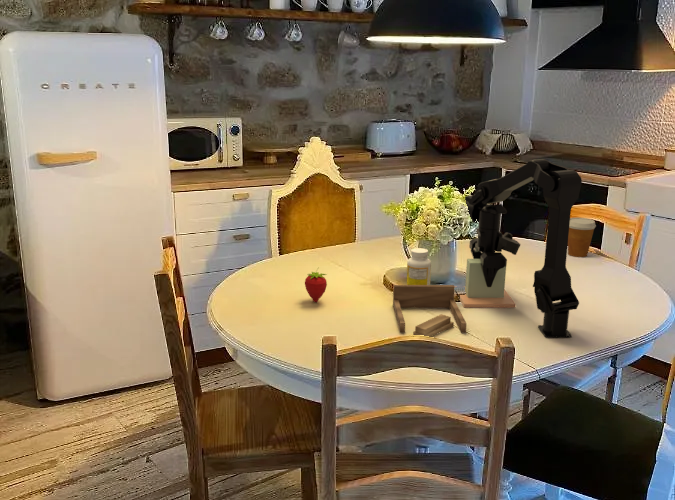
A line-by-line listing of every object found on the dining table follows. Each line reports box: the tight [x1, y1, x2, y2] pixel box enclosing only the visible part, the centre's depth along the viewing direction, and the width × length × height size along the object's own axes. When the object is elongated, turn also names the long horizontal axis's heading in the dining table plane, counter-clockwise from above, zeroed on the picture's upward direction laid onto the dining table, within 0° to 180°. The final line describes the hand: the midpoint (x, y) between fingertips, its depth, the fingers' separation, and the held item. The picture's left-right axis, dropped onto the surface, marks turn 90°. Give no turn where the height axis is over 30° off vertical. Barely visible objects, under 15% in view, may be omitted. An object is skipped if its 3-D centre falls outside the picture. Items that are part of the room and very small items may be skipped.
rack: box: [392, 284, 467, 334], centre depth 173 cm, size 18×16×6 cm
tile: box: [459, 288, 517, 309], centre depth 188 cm, size 14×14×1 cm
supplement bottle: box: [406, 247, 432, 285], centre depth 190 cm, size 7×7×13 cm
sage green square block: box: [464, 258, 507, 298], centre depth 187 cm, size 4×10×10 cm, turn 91°
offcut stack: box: [412, 313, 454, 337], centre depth 166 cm, size 4×12×3 cm, turn 134°
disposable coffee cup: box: [567, 217, 597, 258], centre depth 229 cm, size 10×10×12 cm
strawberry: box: [304, 268, 328, 303], centre depth 183 cm, size 6×8×10 cm
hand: (485, 281), depth 187 cm, fingers open, 9 cm apart
